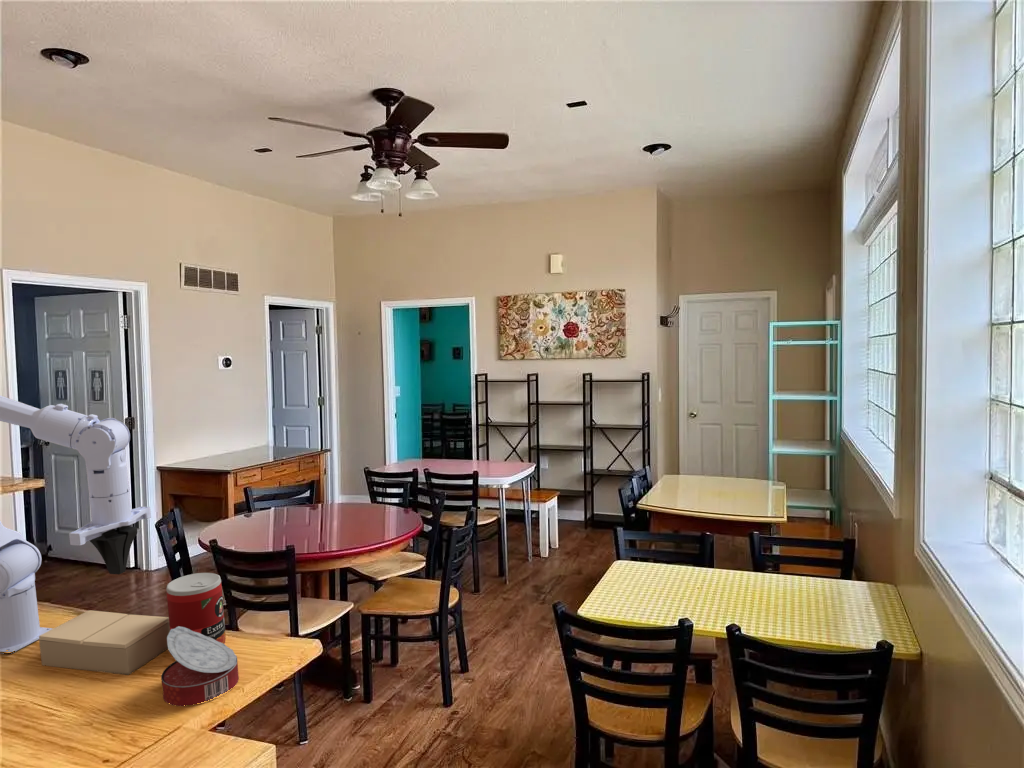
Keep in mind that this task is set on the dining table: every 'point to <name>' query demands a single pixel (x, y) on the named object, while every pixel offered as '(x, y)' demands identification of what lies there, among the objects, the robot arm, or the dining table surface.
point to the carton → (105, 654)
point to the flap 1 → (82, 627)
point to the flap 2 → (126, 631)
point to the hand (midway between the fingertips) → (117, 572)
